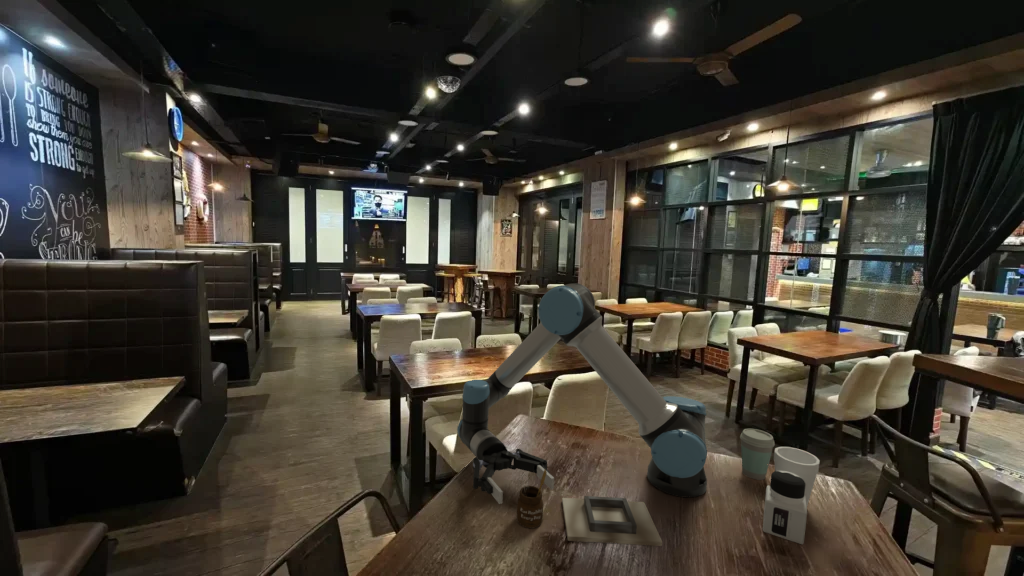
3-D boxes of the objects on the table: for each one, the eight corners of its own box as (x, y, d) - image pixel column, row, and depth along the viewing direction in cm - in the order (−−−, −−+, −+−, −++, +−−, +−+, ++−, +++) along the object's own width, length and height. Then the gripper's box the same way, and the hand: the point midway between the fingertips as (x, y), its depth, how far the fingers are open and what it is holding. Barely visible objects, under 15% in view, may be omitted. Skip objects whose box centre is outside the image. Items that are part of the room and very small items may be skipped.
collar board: (643, 505, 105) (644, 494, 105) (661, 546, 91) (662, 532, 91) (562, 501, 105) (562, 490, 105) (567, 540, 92) (568, 527, 91)
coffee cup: (776, 484, 117) (780, 442, 116) (742, 480, 118) (746, 438, 117) (764, 469, 125) (768, 429, 124) (732, 464, 127) (736, 426, 126)
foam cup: (809, 500, 110) (815, 452, 109) (817, 520, 102) (824, 469, 100) (767, 490, 114) (772, 443, 113) (771, 509, 106) (777, 459, 104)
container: (803, 545, 93) (810, 489, 91) (762, 532, 97) (768, 477, 95) (802, 526, 99) (808, 473, 98) (763, 514, 103) (769, 463, 102)
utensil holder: (514, 513, 100) (516, 464, 99) (541, 512, 101) (543, 463, 100) (518, 529, 94) (520, 478, 93) (546, 528, 95) (548, 477, 94)
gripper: (527, 453, 122) (571, 492, 104) (444, 472, 111) (476, 520, 92) (528, 428, 122) (573, 463, 103) (445, 445, 110) (477, 487, 91)
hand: (527, 490), depth 98 cm, fingers open, 13 cm apart
